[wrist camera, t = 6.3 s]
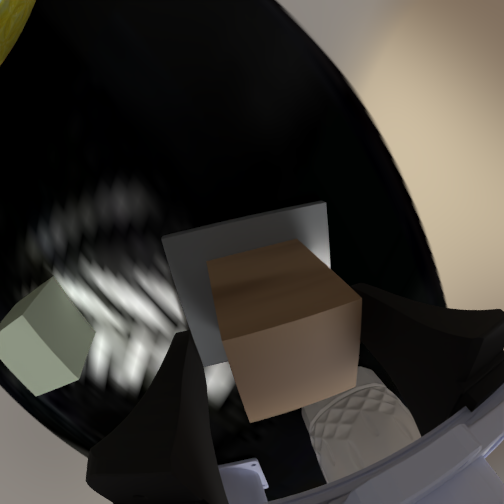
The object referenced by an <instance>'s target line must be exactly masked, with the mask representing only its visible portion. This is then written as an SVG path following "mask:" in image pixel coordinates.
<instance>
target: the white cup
mask: <svg viewBox="0 0 504 504" xmlns="http://www.w3.org/2000/svg"><path fill="white" fill-rule="evenodd" d="M302 417H303V419H304V422H305V424H306V427H307V429H308V432H309V434H310V438H311V442H312V446H313V448H314V450H315V452H316V455H317V459H318V462H319V465H320V467H321V470H322V472H323V475H324V478H325V480H326V483H327V484H328V483H330V482H333V481H336V480H338V479H341V478H343V477H345V476H348V475H350V474H352V473H355V472H357V471H359V470H361V469H364V468H366V467H368V466H370V465H372V464H374V463H376V462H378V461H380V460H382V459H384V458H386V457H388V456H390V455H392V454H393V453H395V452H397V451H399V450H401V449H402V448H404V447H406V446H407V445H409V444H411V443H413V442H414V441H416V440H417V439H419V438H421V435H420V433H419V430H418V428H417V425H416V423H415V421H414V419H413V417H412V415H411V413H410V411H409V409H408V408H407V407H406V406H405V405H403V404H402V402H401V401H400V400H399V399H398V397H397V396H396V395H395V394H394V393H392V392H391V391H390V390H389V389H387V387H386V386H385V385H384V384H383V382H382V381H381V380H380V379H379V378H378V377H377V375H376V374H375V373H374V372H373V371H372V370H371V369H367V368H364V367H361V366H358V370H357V380H356V387H354V388H351V389H349V390H347V391H344V392H342V393H339V394H337V395H334V396H332V397H329V398H327V399H324V400H321V401H318V402H316V403H313V404H310V405H307V406H304V407H302Z"/></svg>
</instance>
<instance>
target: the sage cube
mask: <svg viewBox="0 0 504 504" xmlns="http://www.w3.org/2000/svg"><path fill="white" fill-rule="evenodd" d="M95 333H96V331H95V330H94V329H93V328H92V327H91V325H90V324H89V323H88V322H87V320H86V319H85V318H84V317H83V315H82V314H81V313H80V312H79V310H78V309H77V308H76V306H75V305H74V304H73V302H72V301H71V300H70V298H69V297H68V296H67V294H66V293H65V291H64V290H63V289H62V287H61V286H60V284H59V283H58V281H57V280H56V279H55V277H54V276H53V277H51V278H50V279H49V280H47V281H46V282H44V283H43V284H42V285H40V286H39V287H38V288H36V289H35V290H33V291H32V292H31V293H29V294H28V295H27V296H26V297H24V298H23V299H22V300H20V301H19V302H18V303H16V304H15V305H14V307H13V308H12V309H11V310H10V312H9V313H8V314H7V315H6V317H5V318H4V319H3V320H2V322H1V323H0V359H1V360H2V362H3V363H4V364H5V365H6V366H7V367H8V368H9V369H10V371H11V372H12V373H13V374H14V375H15V376H16V377H17V378H18V379H19V380H20V381H21V382H22V383H23V384H24V385H25V386H26V387H27V388H28V389H29V390H30V391H31V392H32V393H33V394H34V395H35V396H39V395H41V394H44V393H46V392H49V391H52V390H54V389H57V388H59V387H62V386H64V385H67V384H69V383H72V382H74V381H77V380H79V378H80V375H81V372H82V369H83V366H84V363H85V360H86V357H87V355H88V352H89V349H90V346H91V344H92V341H93V338H94V336H95Z"/></svg>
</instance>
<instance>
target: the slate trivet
mask: <svg viewBox="0 0 504 504" xmlns="http://www.w3.org/2000/svg"><path fill="white" fill-rule="evenodd" d="M293 239H298V240H299V241H300V242H301V243H302V244H304V245H305V246H306V247H307V248H308V249H309V250H310V251H311V252H312V253H314V254H315V255H316V256H317V257H318V258H319V259H320V260H321V261H322V262H324V263H325V264H326V265H327V266H328V267H329V268H330V249H329V234H328V221H327V209H326V202H324V201H317V202H312V203H307V204H302V205H297V206H292V207H287V208H282V209H277V210H273V211H268V212H263V213H259V214H254V215H249V216H245V217H240V218H236V219H231V220H227V221H223V222H218V223H214V224H210V225H205V226H201V227H197V228H193V229H189V230H185V231H180V232H176V233H172V234H168V235H164V236H162V239H161V240H162V244H163V247H164V251H165V254H166V257H167V261H168V264H169V267H170V271H171V274H172V277H173V280H174V283H175V286H176V290H177V293H178V296H179V299H180V302H181V305H182V308H183V311H184V313H185V316H186V319H187V322H188V325H189V328H190V330H191V333H192V336H193V339H194V341H195V344H196V347H197V349H198V352H199V355H200V357H201V360H202V362H203V365H204V367H205V366H210V365H214V364H218V363H223V362H227V361H228V359H227V356H226V352H225V349H224V346H223V343H222V340H221V335H220V330H219V325H218V320H217V315H216V310H215V305H214V300H213V295H212V289H211V284H210V279H209V273H208V268H207V262H206V261H210V260H214V259H218V258H222V257H225V256H229V255H233V254H237V253H241V252H245V251H249V250H253V249H257V248H261V247H265V246H269V245H273V244H277V243H281V242H285V241H289V240H293ZM330 269H331V268H330Z"/></svg>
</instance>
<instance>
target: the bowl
mask: <svg viewBox="0 0 504 504" xmlns="http://www.w3.org/2000/svg"><path fill="white" fill-rule="evenodd" d="M35 2H36V0H0V65H1V64H2V63H3V61H4V60H5V58H6V57H7V55H8V54H9V52H10V51H11V49H12V48H13V46H14V44H15V43H16V41H17V39H18V37H19V36H20V34H21V32H22V30H23V28H24V26H25V24H26V22H27V20H28V18H29V16H30V13H31V11H32V9H33V6H34V4H35Z"/></svg>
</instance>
